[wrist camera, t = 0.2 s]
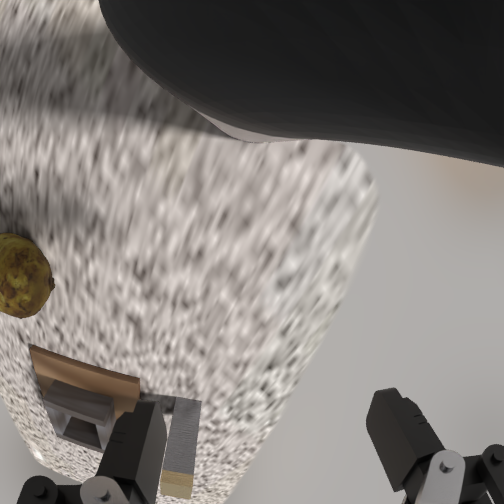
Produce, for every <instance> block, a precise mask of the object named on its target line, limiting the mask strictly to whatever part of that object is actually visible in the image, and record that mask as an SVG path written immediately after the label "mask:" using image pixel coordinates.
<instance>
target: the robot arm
mask: <svg viewBox="0 0 504 504" xmlns="http://www.w3.org/2000/svg"><path fill="white" fill-rule="evenodd" d="M99 4H100V8H101V12H102V15H103V17H104V19H105V21H106V24H107V26H108V28H109V29H110V31H111V33H112V34H113V36H114V38H115V39H116V41H117V42H118V44H119V45H120V47H121V48H122V49H123V50H124V51H125V53H126V54H127V55H128V56H129V58H130V59H131V60H132V61H133V62H134V63H135V64H136V65H137V66H138V67H139V68H140V69H141V70H142V71H143V72H144V73H146V74H147V75H148V76H149V77H150V78H152V79H153V80H154V81H155V82H156V83H158V84H159V85H160V86H161V87H163V88H164V89H165V90H167V91H168V92H170V93H171V94H173V95H174V96H176V97H177V98H178V99H180V100H181V101H183V102H184V103H186V104H187V105H188V106H190V107H191V108H193V109H194V110H196V111H197V112H198V113H200V114H201V115H202V116H204V117H205V118H206V119H207V120H209V121H210V122H211V123H213V124H214V125H215V126H217V127H218V128H219V129H220V130H222V131H223V132H225V133H226V134H228V135H229V136H231V137H233V138H235V139H239V140H242V141H245V142H250V143H253V142H254V143H271V142H280V141H294V140H312V139H320V140H332V141H344V142H355V143H364V144H373V145H381V146H388V147H395V148H402V149H408V150H414V151H420V152H426V153H432V154H437V155H443V156H448V157H454V158H459V159H464V160H469V161H474V162H479V163H485V164H489V165H494V166H499V167H503V168H504V0H99ZM366 427H367V431H368V433H369V435H370V437H371V440H372V442H373V444H374V447H375V449H376V451H377V454H378V456H379V458H380V460H381V462H382V465H383V467H384V470H385V472H386V474H387V477H388V479H389V481H390V484H391V486H392V488H393V491H394V492H397V491H400V490H403V489H404V490H405V492H406V495H405V497H404V499H403V501H402V504H492V502H491V500H490V498H489V496H488V494H487V493H486V492H487V491H488V492H489V494H490V495H491V497H492V499H493V501H494V503H495V504H504V446H502V445H499V444H494V445H490V446H489V447H487V448H486V449H485V451H484V452H483V454H482V455H476V456H469V457H462V456H461V455H460V454H459V453H457V452H455V451H452V450H446V449H445V448H444V446H443V445H442V443H441V441H440V440H439V438H438V437H437V435H436V434H435V432H434V430H433V429H432V427H431V426H430V424H429V423H427V420H426V418H425V417H424V416H423V414H422V412H421V410H420V409H419V407H418V406H417V405H416V404H415V403H414V402H413V401H411V400H410V399H409V398H407V397H406V398H402V397H401V395H400V393H399V392H398V390H397V389H396V388H389V389H384V390H378V391H376V392H375V393H374V397H373V399H372V402H371V405H370V409H369V412H368V415H367V418H366ZM166 441H167V430H166V425H165V421H164V418H163V414H162V410H161V407H160V403H159V402H158V401H149V400H138V401H137V403H136V405H135V408H134V411H133V412H126V411H125V412H124V413H123V414H122V415H121V416H120V417H119V418H118V419H117V420H116V422H115V425H114V427H113V430H112V433H111V435H110V438H109V442H108V443H107V446H106V449H105V451H104V454H103V457H102V460H101V463H100V465H99V468H98V471H97V473H96V475H95V476H94V477H91V478H89V479H87V480H86V481H85V482H84V483H83V484H81V485H56V484H55V483H54V482H53V481H52V480H51V479H49V478H48V477H45V476H33V477H31V478H29V479H28V480H27V481H26V482H25V483H24V485H23V488H22V491H21V493H20V496H19V498H18V501H17V504H155V501H156V495H157V489H158V484H159V478H160V473H161V467H162V462H163V457H164V452H165V447H166Z"/></svg>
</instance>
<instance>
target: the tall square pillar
mask: <svg viewBox="0 0 504 504" xmlns="http://www.w3.org/2000/svg"><path fill="white" fill-rule="evenodd" d="M201 402H202V401H196V400H191V399H185V398H180V397H176V401H175V406H174V411H173V416H172V421H171V426H170V431H169V436H168V442H167V447H166V452H165V458H164V463H163V469H162V475H161V480H160V488H161V495H167V496H172V497H178V498H184V499H190V498H191V492H192V486H193V476H194V466H195V456H196V446H197V437H198V428H199V419H200V410H201Z"/></svg>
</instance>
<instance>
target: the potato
mask: <svg viewBox="0 0 504 504" xmlns="http://www.w3.org/2000/svg"><path fill="white" fill-rule="evenodd" d="M54 288H55V284H54V278H52V272H51V269H50V265H49V262H48V260H47V259H46V257H45V256H44V255H43V254H42V252H41V251H40V249H39V248H38V247H37V246H36V245H34V244H33V241H31V240H30V239H27V238H23V237H20V236H18V235H16V234H13V233H1V234H0V311H1V312H3V313H6V314H8V315H11V316H14V317H17V318H20V319H22V318H27V317H30V316H33V315H35V314H36V313H37V312H38V311H40V310H41V308H42V306H43V305H44V304H45V302H46V301H47V299H48V298H49V296H50V293H51V291H52V290H53V289H54Z"/></svg>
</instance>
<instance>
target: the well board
mask: <svg viewBox="0 0 504 504" xmlns="http://www.w3.org/2000/svg"><path fill="white" fill-rule="evenodd" d="M29 350H30V354H31V357H32V361H33V365H34V368H35V372H36V375H37V379H38V382H39V385H40V388H41V391H42V394H43V397H44V398H43V402H44V405H45V408H46V410H47V413H48V416H49V418H50V421H51V423H52V426H53V428H54V431H55V433H56V435H57V437H59V438H62V439H64V440H67V441H69V442H72V443H74V444H77V445H80V446H83V447H86V448H88V449H91V450H94V451H97V452H100V453H104V451H105V449H106V446H107V443H108V442H109V438H110V435H111V433H112V430H113V427H114V425H115V422H116V420H117V419H118V418H119V417H120V416H121V415H122V414H123V413H124V412H125V411H126V412H133V411H134V408H135V405H136V403H137V401H138V400H140V378H136V377H132V376H128V375H124V374H120V373H117V372H113V371H109V370H106V369H102V368H99V367H96V366H92V365H89V364H86V363H83V362H80V361H77V360H74V359H71V358H68V357H65V356H62V355H59V354H56V353H53V352H51V351H48V350H45V349H43V348H40V347H37V346H35V345H32V347H31V348H30V349H29Z"/></svg>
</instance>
